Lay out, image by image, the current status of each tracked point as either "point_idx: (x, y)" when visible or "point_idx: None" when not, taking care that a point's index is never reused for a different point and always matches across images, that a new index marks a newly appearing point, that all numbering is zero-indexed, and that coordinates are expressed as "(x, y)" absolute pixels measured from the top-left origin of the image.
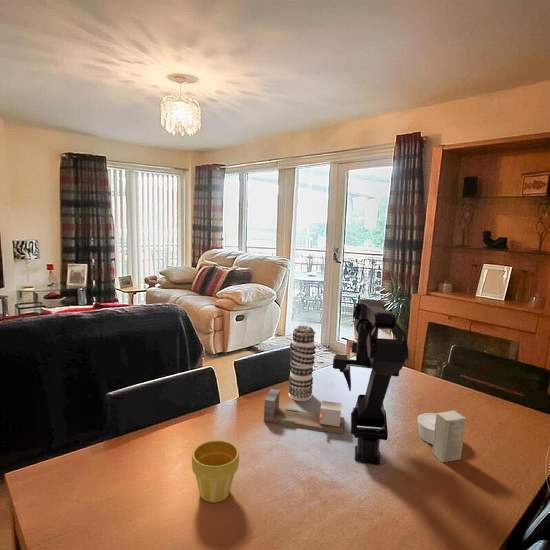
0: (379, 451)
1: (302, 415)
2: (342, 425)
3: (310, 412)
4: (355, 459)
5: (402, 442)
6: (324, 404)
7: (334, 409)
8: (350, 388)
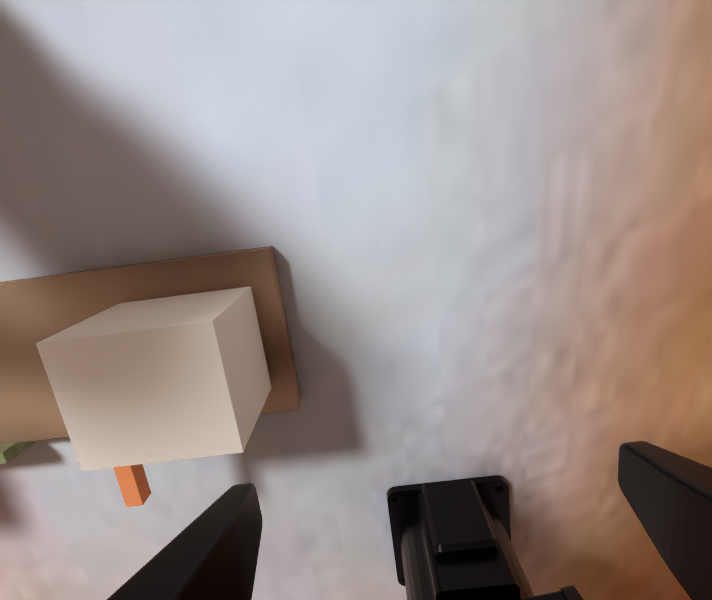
0: (508, 496)
1: (12, 341)
2: (283, 352)
3: (37, 281)
4: (401, 583)
5: (635, 345)
6: (84, 404)
7: (189, 448)
8: (249, 583)
